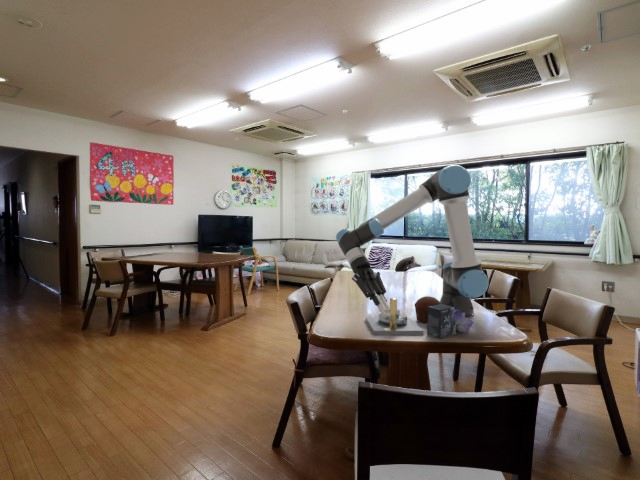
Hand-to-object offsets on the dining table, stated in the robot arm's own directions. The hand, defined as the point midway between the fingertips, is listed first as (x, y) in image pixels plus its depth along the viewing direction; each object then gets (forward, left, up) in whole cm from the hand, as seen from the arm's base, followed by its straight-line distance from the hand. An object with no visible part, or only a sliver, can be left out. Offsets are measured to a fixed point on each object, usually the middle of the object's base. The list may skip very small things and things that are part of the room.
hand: (385, 311), depth 120 cm
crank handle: (-4, -5, -6) cm, 9 cm away
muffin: (-21, -14, -8) cm, 27 cm away
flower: (-27, 0, -8) cm, 29 cm away
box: (-19, +3, -8) cm, 21 cm away
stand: (-4, -6, -8) cm, 11 cm away
